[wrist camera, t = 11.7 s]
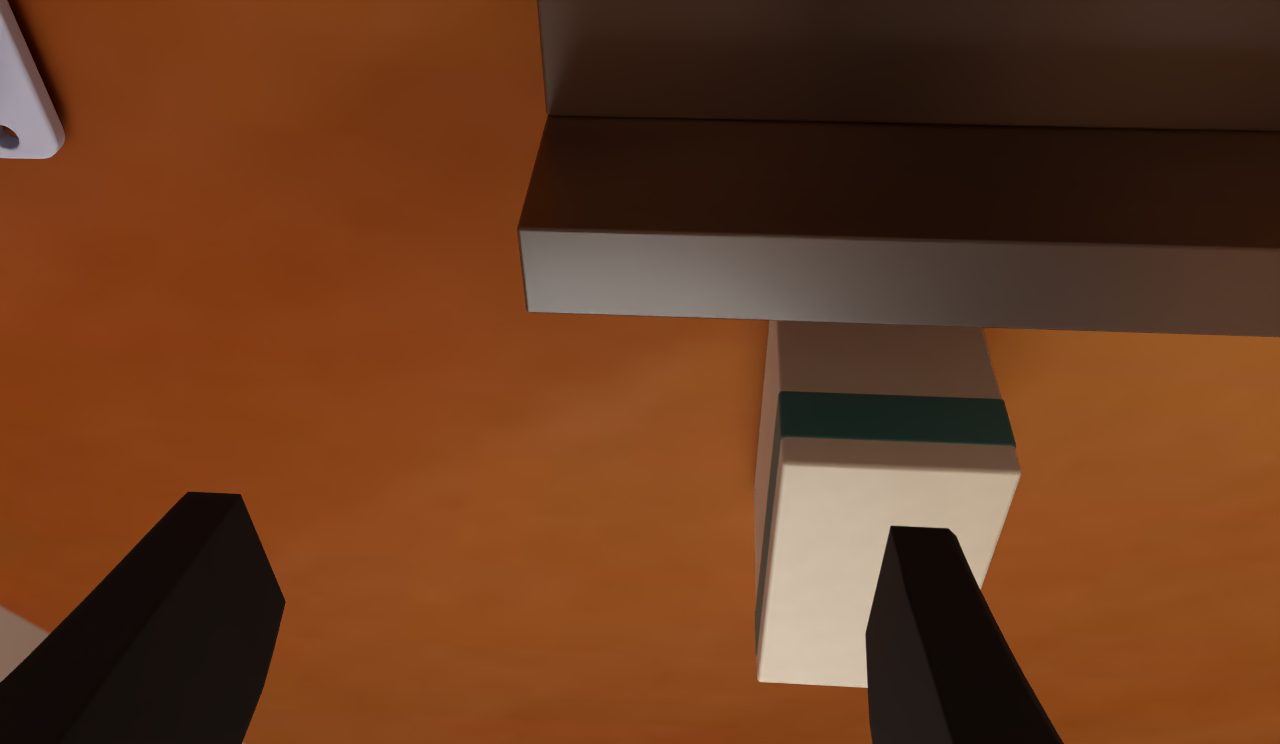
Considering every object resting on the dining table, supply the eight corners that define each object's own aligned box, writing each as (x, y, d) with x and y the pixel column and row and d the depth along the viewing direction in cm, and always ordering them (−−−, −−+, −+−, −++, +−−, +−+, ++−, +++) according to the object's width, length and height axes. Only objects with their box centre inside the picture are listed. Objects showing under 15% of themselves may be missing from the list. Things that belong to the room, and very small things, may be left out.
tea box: (753, 489, 26) (756, 683, 22) (773, 266, 22) (781, 462, 18) (914, 496, 26) (946, 693, 22) (970, 272, 21) (1025, 472, 17)
